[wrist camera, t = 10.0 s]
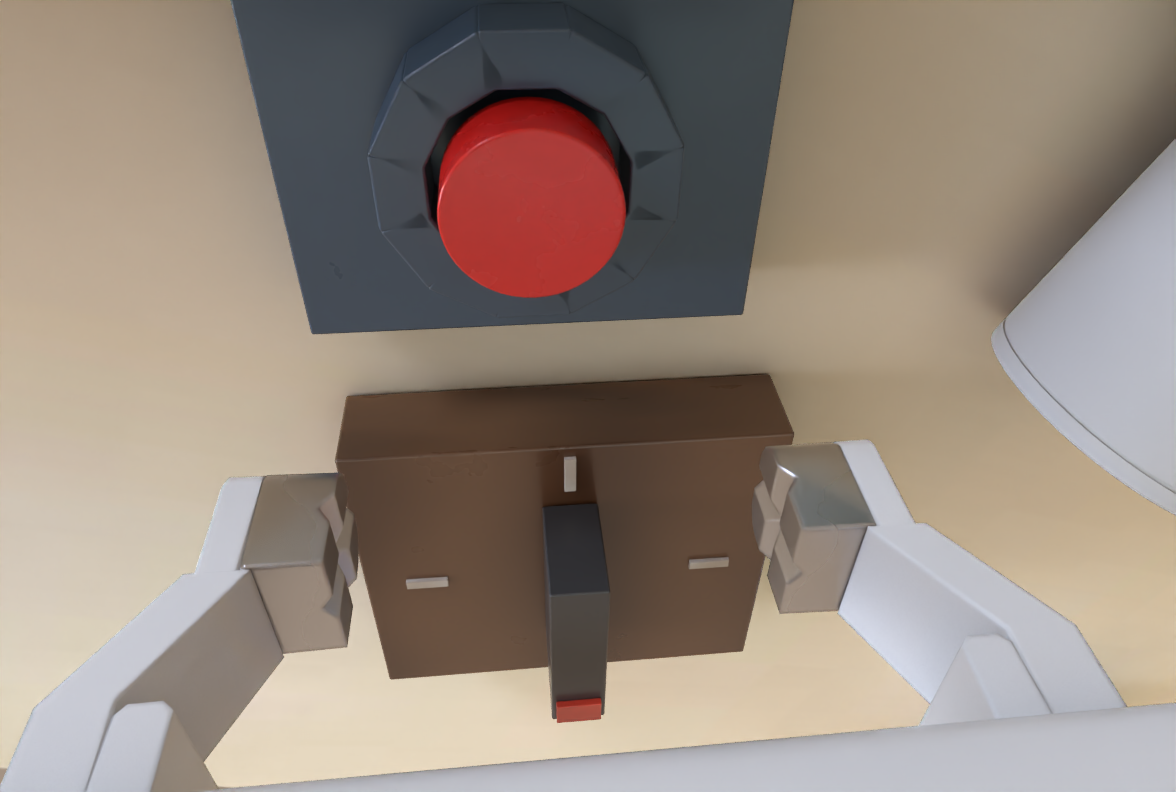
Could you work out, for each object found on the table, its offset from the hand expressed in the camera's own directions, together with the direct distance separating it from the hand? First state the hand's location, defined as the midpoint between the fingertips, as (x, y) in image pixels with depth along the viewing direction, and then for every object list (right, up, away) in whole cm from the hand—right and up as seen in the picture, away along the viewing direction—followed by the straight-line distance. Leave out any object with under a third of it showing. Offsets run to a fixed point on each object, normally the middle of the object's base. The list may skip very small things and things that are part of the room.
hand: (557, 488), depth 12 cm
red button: (-1, +6, +7) cm, 9 cm away
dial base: (-1, -3, +20) cm, 20 cm away
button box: (-1, +9, +10) cm, 13 cm away
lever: (0, -5, +17) cm, 18 cm away
